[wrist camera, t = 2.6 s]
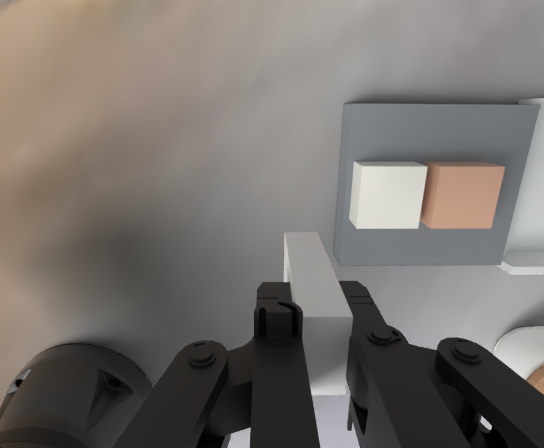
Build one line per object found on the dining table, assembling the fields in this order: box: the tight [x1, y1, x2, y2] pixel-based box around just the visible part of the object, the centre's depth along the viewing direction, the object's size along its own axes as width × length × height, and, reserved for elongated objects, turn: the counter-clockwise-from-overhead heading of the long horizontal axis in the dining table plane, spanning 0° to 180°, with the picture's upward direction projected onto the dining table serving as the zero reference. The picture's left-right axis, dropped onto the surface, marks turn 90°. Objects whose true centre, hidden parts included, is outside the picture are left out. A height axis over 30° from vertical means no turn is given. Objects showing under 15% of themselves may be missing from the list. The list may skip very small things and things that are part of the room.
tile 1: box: [419, 162, 505, 229], centre depth 28 cm, size 5×5×2 cm
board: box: [333, 103, 540, 266], centre depth 31 cm, size 15×14×3 cm
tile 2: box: [349, 161, 428, 229], centre depth 28 cm, size 5×5×2 cm
